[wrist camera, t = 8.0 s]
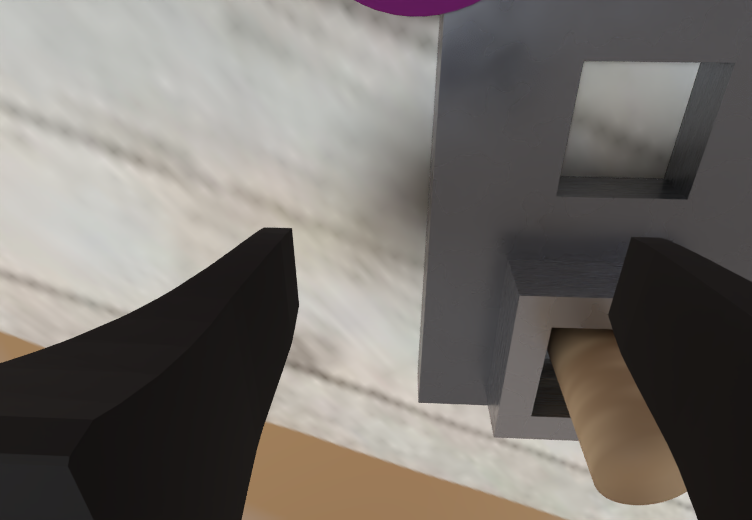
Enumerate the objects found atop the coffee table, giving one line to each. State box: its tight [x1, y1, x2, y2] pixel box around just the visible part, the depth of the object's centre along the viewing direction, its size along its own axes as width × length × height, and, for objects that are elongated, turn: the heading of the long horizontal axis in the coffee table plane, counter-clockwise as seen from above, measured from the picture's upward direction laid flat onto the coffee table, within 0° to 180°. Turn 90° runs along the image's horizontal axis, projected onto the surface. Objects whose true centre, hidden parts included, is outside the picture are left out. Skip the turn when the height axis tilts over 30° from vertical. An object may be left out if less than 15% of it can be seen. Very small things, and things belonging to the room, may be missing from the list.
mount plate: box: [418, 0, 752, 441], centre depth 20 cm, size 14×18×4 cm
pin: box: [547, 327, 687, 505], centre depth 20 cm, size 3×3×9 cm
